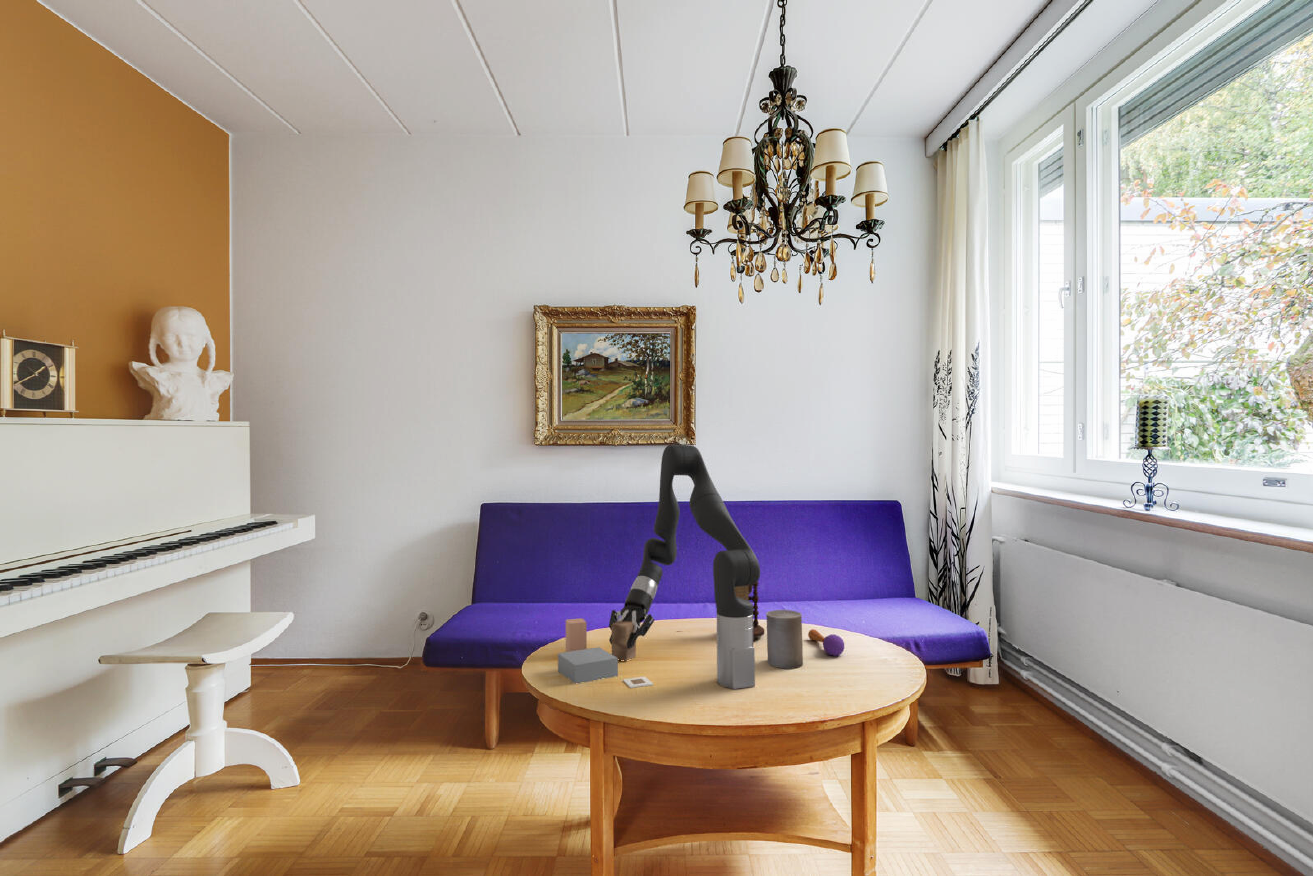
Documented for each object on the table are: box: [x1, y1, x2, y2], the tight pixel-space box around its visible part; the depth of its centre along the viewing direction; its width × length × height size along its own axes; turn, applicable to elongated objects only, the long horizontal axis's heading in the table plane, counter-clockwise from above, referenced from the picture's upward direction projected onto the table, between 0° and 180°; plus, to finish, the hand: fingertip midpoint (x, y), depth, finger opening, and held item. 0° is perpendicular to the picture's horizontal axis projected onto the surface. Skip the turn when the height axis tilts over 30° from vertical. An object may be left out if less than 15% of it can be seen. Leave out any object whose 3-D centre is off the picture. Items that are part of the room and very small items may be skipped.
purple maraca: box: [807, 628, 845, 657], centre depth 194 cm, size 6×6×20 cm
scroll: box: [735, 581, 765, 642], centre depth 207 cm, size 15×15×20 cm
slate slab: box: [557, 647, 619, 685], centre depth 171 cm, size 12×12×5 cm
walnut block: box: [611, 621, 637, 661], centre depth 185 cm, size 5×5×10 cm
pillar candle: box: [765, 608, 804, 669], centre depth 179 cm, size 10×10×15 cm
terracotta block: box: [565, 618, 588, 652], centre depth 188 cm, size 5×5×10 cm
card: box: [622, 676, 654, 689], centre depth 164 cm, size 6×6×1 cm
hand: (620, 645), depth 183 cm, fingers closed on walnut block, 5 cm apart
